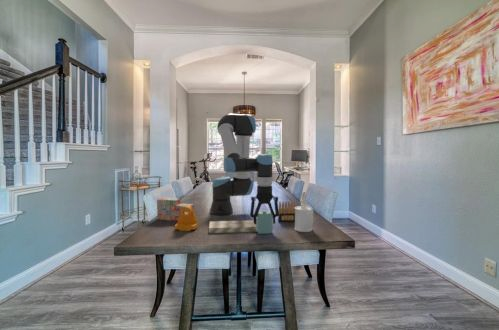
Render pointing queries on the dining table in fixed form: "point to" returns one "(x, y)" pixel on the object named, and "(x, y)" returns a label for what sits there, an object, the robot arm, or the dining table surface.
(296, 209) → the white smoke grenade
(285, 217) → the ammunition clip
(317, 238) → the dining table surface
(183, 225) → the orange bell-shaped figure
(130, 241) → the dining table surface
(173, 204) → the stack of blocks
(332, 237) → the dining table surface
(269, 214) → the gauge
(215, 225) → the board
